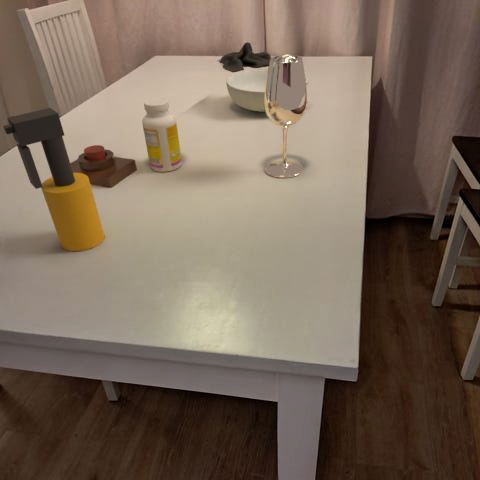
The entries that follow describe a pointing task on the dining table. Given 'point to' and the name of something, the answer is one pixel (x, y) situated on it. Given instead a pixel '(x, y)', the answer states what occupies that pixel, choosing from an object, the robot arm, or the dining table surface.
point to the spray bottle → (61, 181)
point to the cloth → (244, 59)
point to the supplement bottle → (161, 136)
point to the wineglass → (285, 104)
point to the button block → (104, 169)
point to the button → (94, 152)
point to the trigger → (29, 166)
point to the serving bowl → (249, 89)
